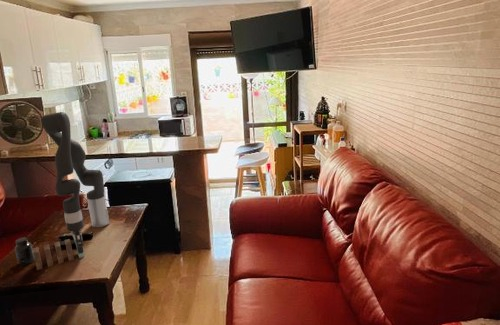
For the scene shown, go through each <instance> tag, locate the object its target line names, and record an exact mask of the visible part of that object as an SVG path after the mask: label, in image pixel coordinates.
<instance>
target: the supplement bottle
mask: <svg viewBox="0 0 500 325" xmlns="http://www.w3.org/2000/svg"><path fill="white" fill-rule="evenodd" d="M15 245H16V246H14V251H15V255H16V259H17V262H18V265H19V266H26V265H30V264H32V263H33V262H35V258H34V254H33V246H32V243H31V242H29V240H28V238H27V237H26V236H24V237H20V238H17V239H16V240H15Z"/></svg>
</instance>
